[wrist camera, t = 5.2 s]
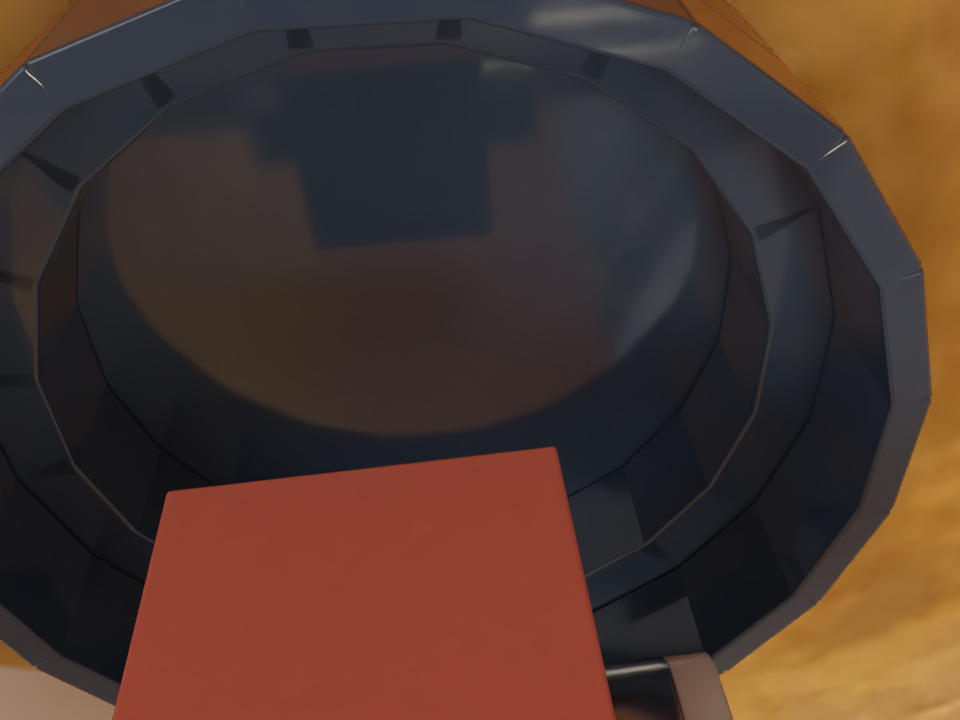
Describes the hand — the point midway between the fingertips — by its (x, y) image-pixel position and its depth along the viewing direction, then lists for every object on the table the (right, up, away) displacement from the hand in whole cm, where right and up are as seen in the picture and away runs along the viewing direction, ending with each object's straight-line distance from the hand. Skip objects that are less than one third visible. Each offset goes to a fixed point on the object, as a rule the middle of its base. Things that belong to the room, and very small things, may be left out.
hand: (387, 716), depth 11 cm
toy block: (0, +1, +1) cm, 2 cm away
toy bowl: (0, +5, +7) cm, 9 cm away
